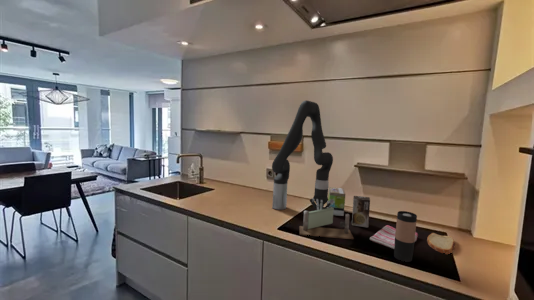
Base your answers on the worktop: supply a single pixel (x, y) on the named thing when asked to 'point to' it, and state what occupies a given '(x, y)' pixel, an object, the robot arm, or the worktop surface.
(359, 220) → the coffee box
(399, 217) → the travel mug
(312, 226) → the gate
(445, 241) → the slice of bread
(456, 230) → the worktop surface
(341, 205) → the tea box
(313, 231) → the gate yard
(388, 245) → the dish towel
